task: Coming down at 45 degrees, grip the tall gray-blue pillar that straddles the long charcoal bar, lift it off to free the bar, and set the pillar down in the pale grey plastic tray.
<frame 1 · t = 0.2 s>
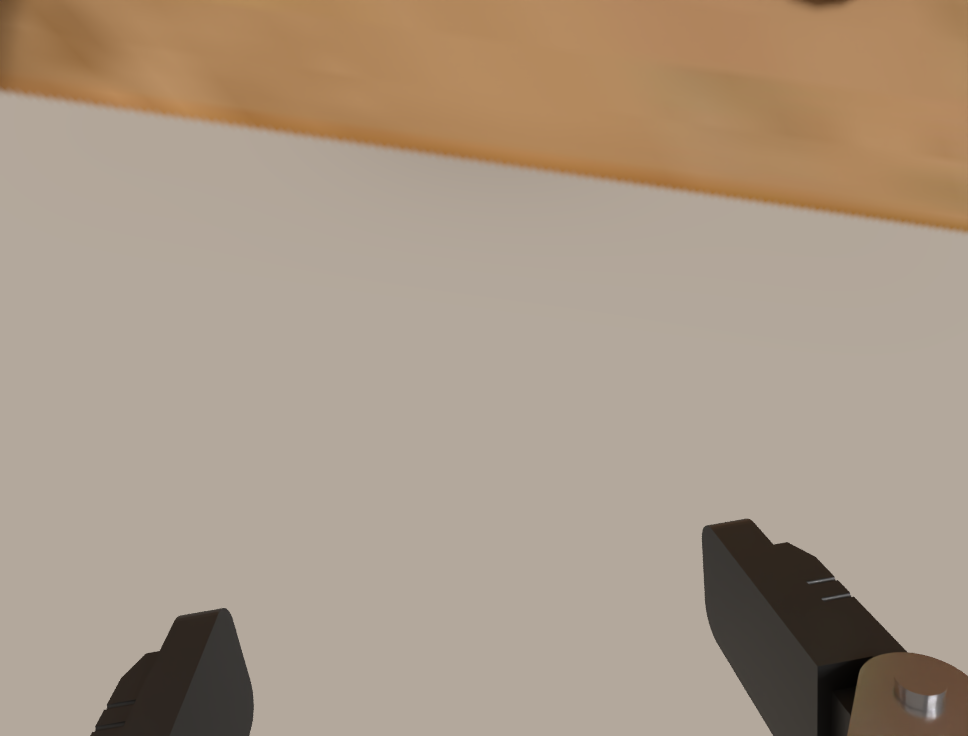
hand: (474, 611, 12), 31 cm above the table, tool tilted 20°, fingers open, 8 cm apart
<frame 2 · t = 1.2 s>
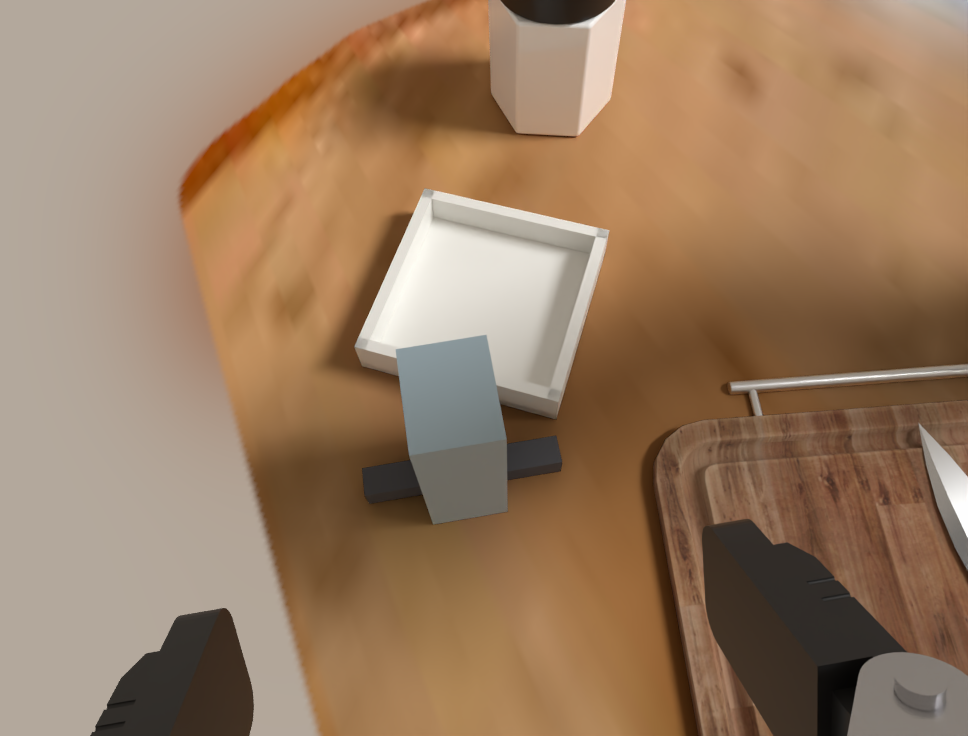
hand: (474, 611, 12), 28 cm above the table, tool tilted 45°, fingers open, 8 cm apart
tall gray-blue pillar: (463, 474, 42), on the table
parts tray: (487, 308, 47), on the table
long charcoal bar: (463, 474, 42), on the table
jar: (550, 99, 56), on the table
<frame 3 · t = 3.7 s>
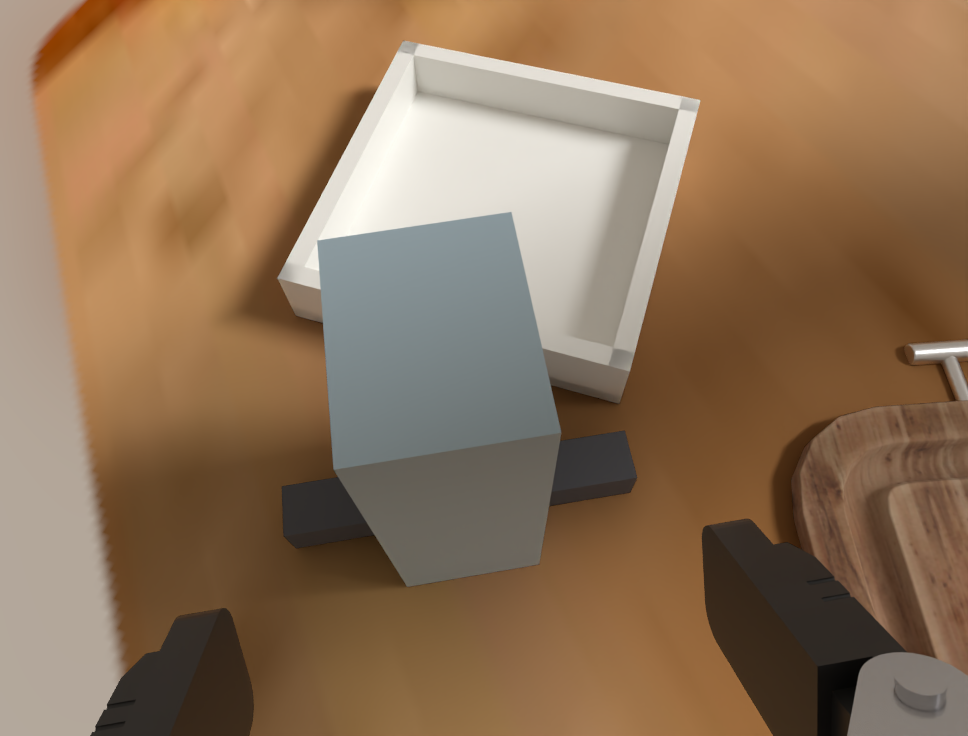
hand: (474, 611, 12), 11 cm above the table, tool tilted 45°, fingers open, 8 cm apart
tall gray-blue pillar: (461, 496, 24), on the table
parts tray: (501, 226, 29), on the table
long charcoal bar: (461, 496, 24), on the table
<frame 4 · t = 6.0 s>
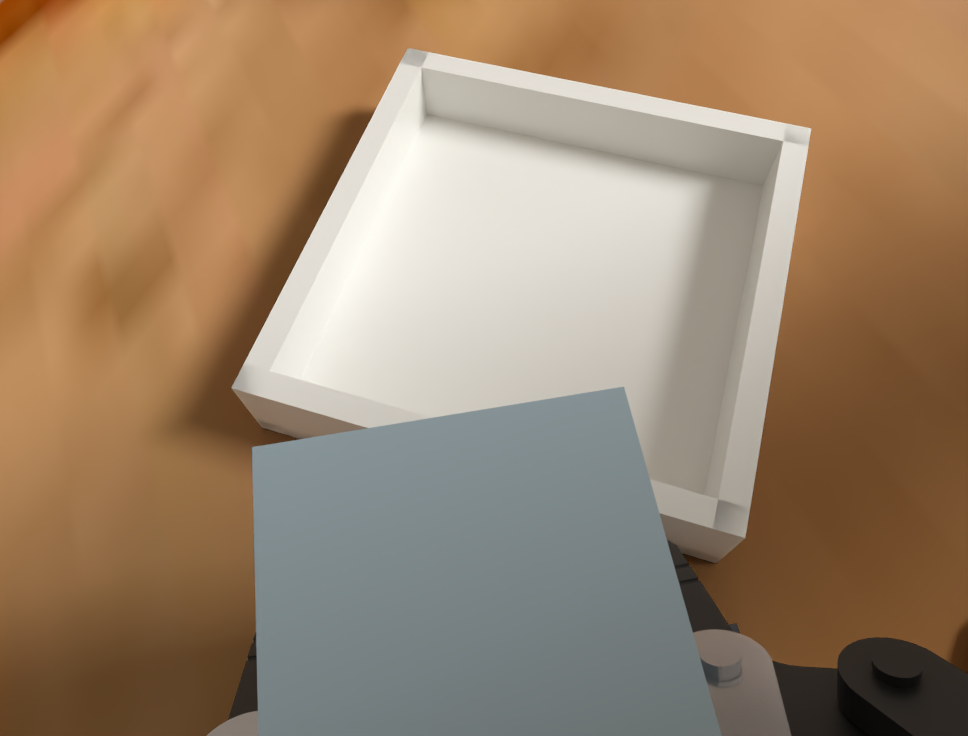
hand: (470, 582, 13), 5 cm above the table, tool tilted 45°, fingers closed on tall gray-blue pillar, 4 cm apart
tall gray-blue pillar: (495, 711, 17), on the table, touching gripper
parts tray: (541, 298, 22), on the table
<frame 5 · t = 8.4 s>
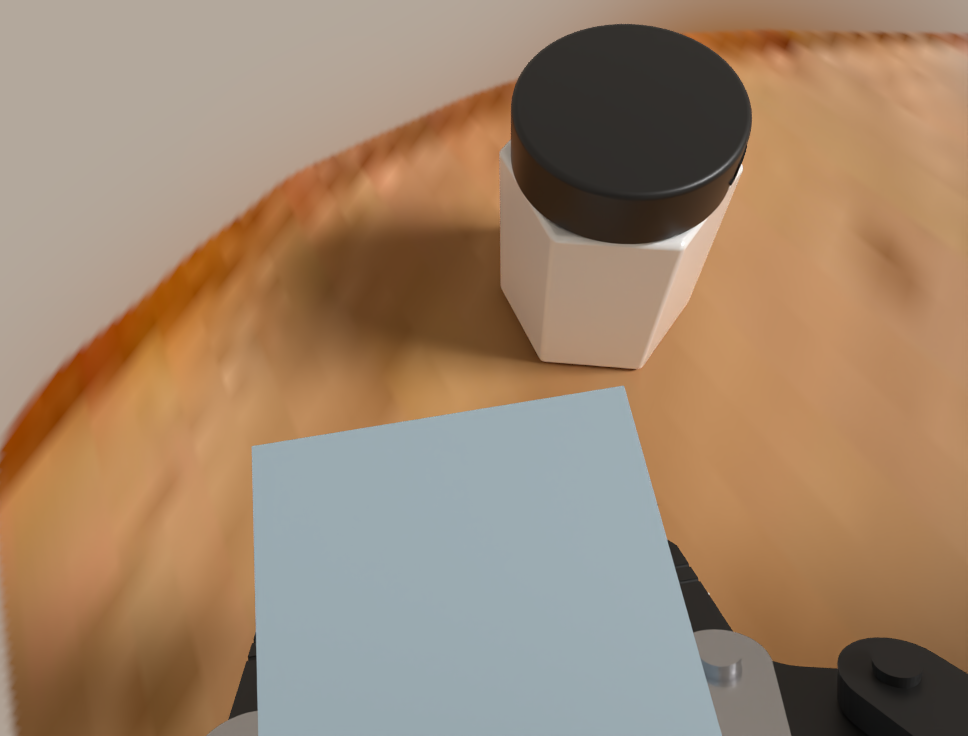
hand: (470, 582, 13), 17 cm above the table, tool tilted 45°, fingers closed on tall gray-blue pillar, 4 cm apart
tall gray-blue pillar: (495, 711, 17), point 12 cm above the table, touching gripper
jar: (592, 297, 36), on the table
when the fingers open (6 cm above the table, at t = 10.7 s): tall gray-blue pillar stays where it is, resting on parts tray.
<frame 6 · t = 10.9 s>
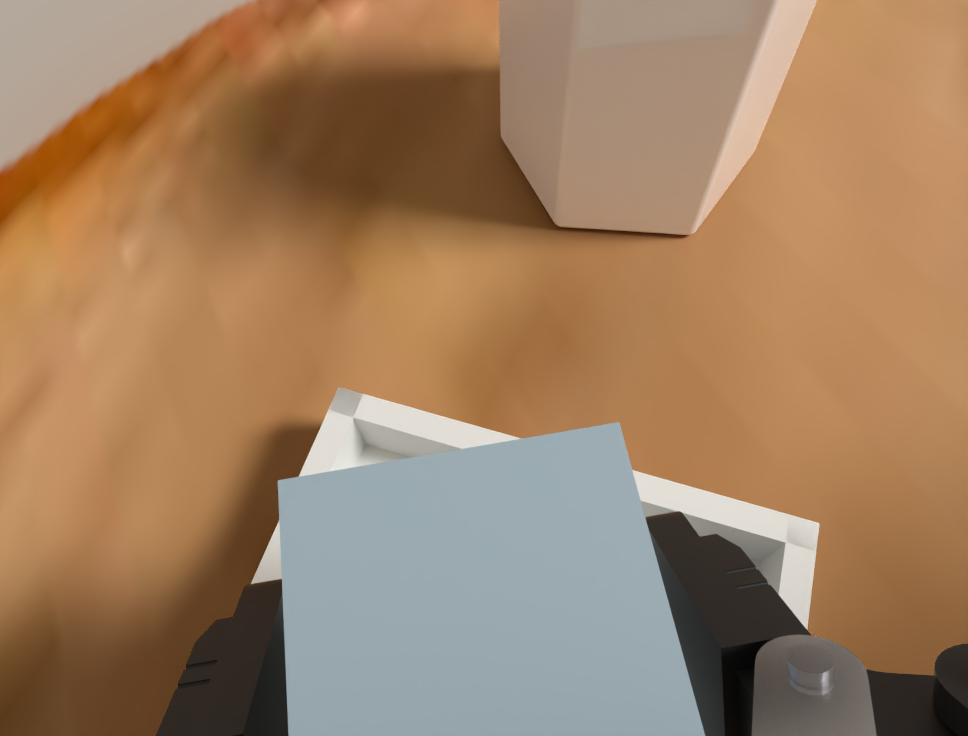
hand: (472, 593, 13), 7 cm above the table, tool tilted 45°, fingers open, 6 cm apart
tall gray-blue pillar: (499, 716, 18), point 1 cm above the table, touching parts tray
parts tray: (494, 715, 18), on the table
jar: (624, 150, 27), on the table
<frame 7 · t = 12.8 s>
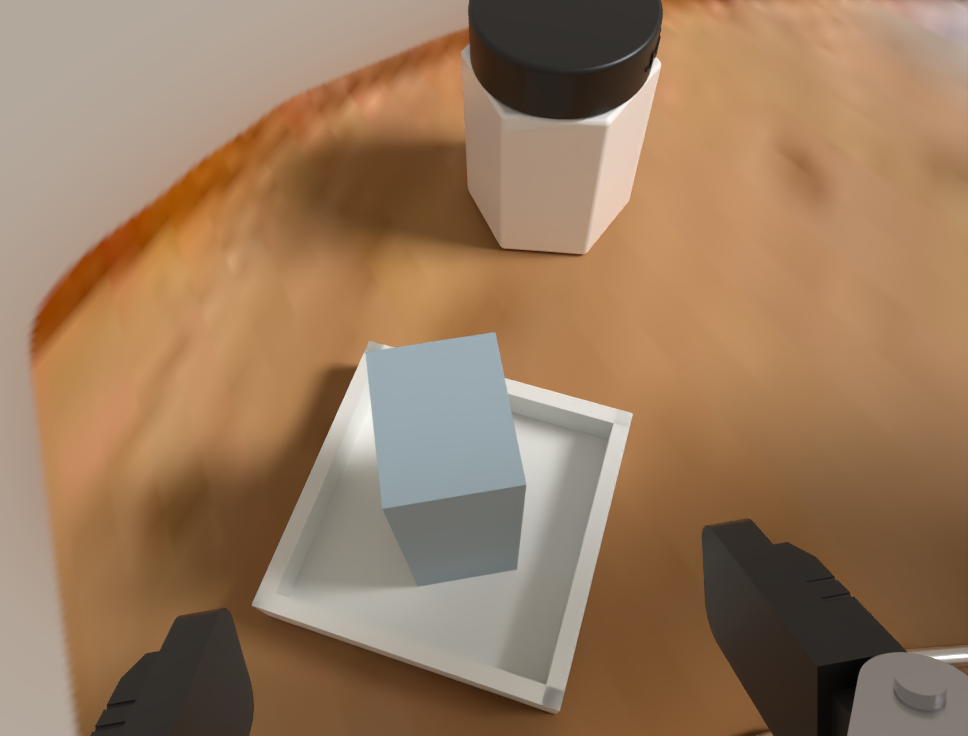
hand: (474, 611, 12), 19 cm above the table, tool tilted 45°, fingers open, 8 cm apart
tall gray-blue pillar: (458, 518, 32), point 1 cm above the table, touching parts tray
parts tray: (456, 520, 33), on the table
jar: (547, 199, 41), on the table
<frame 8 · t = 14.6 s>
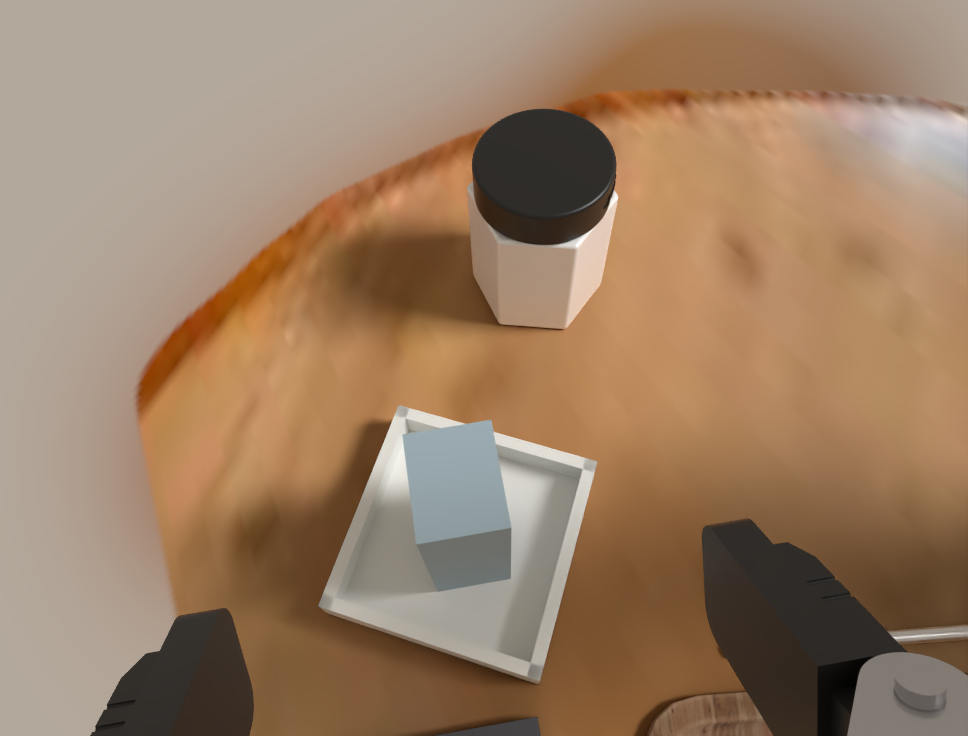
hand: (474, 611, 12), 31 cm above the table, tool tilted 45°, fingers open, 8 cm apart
tall gray-blue pillar: (467, 540, 43), point 1 cm above the table, touching parts tray
parts tray: (465, 541, 44), on the table
jar: (536, 281, 52), on the table
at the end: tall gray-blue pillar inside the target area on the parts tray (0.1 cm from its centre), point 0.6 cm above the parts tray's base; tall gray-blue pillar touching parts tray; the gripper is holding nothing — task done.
